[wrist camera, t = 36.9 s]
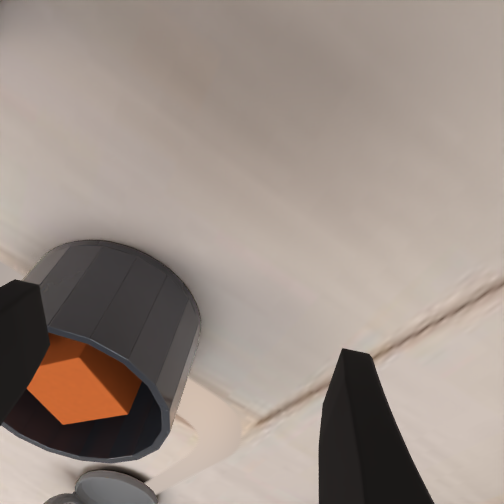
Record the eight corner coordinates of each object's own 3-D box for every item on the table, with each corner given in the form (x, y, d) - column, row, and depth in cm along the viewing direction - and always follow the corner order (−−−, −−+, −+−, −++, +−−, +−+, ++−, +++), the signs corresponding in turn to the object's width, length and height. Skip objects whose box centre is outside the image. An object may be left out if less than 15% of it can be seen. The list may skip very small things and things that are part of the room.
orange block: (103, 349, 27) (62, 425, 23) (61, 299, 25) (10, 372, 21) (160, 337, 26) (128, 414, 22) (121, 283, 24) (78, 357, 20)
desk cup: (1, 300, 27) (-73, 385, 22) (92, 204, 22) (24, 286, 17) (133, 390, 30) (94, 482, 25) (238, 324, 25) (214, 421, 20)
